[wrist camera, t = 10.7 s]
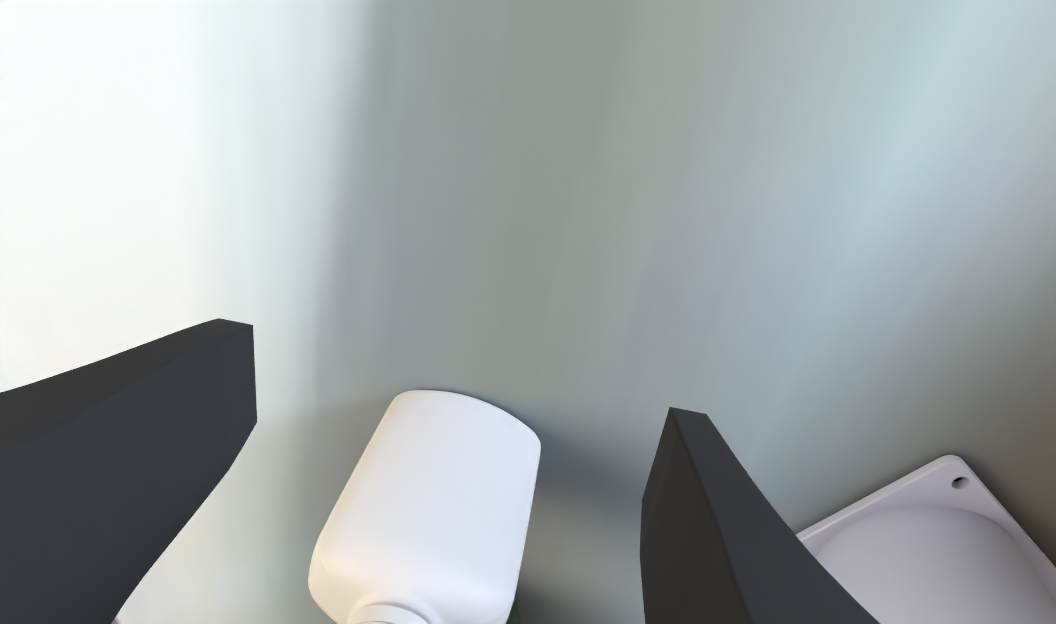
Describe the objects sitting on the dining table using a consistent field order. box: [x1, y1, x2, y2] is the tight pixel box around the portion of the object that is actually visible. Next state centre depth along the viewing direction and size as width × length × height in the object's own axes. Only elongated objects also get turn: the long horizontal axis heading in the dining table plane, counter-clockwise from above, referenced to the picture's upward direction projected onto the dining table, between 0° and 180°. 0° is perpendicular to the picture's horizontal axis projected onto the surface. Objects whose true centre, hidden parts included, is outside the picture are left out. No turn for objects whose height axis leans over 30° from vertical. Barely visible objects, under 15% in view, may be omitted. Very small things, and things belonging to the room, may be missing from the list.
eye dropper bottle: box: [308, 390, 541, 624], centre depth 19 cm, size 4×6×12 cm
